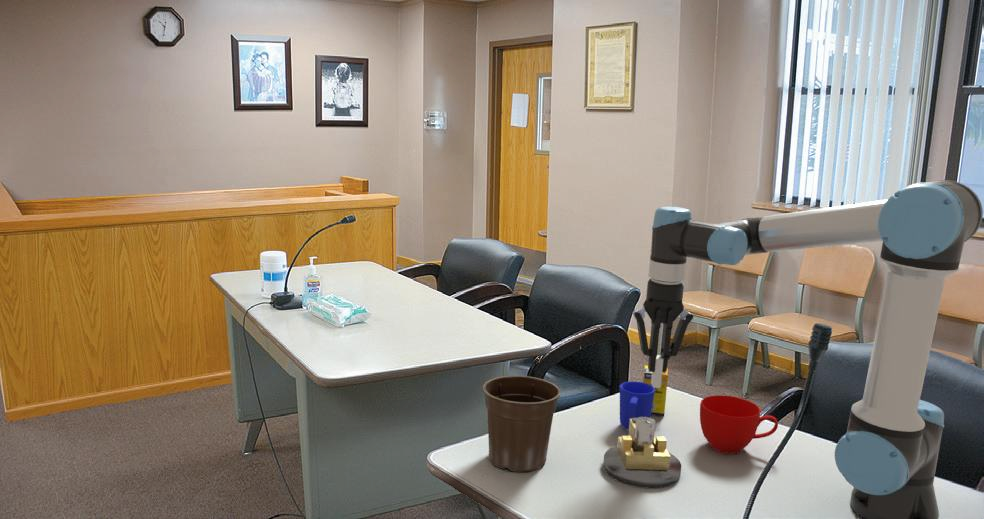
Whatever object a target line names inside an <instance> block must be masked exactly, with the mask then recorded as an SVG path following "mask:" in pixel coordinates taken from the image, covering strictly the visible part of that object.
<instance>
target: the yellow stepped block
mask: <svg viewBox="0 0 984 519" xmlns="http://www.w3.org/2000/svg"><path fill="white" fill-rule="evenodd" d="M636 419H637V418H632V419H630V421H629V430H628V434H627V435H621V436H617V445H616V446H617V451H618V453H619V455H620V457H621V460H622V462H623V464H624V467H625V469H650V470H669V466H670V455H669V453H670V452H669V451H668V450H667V439H666V437H665V436H659V435H658V436H657V435H656V436H654V445H652V444H642V452H633V450H634V438H635V426H636ZM668 452H669V453H668Z"/></svg>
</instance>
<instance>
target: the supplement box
mask: <svg viewBox="0 0 984 519" xmlns="http://www.w3.org/2000/svg"><path fill="white" fill-rule="evenodd" d="M642 375H643V377H642V383H646V384H649V385H651V386H652V384H651V377H652V372H650V371H649V369H648V364H647V365H643V374H642ZM668 379H669V369H668V367H667V371H666V372H662V379H661V388H655V394H654V400H653V405H652V411H651V416H658V417H665V412H666V411H665V410H666V402H667V401H666V400H667V389H668V388H667V387H668Z"/></svg>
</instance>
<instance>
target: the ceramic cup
mask: <svg viewBox="0 0 984 519" xmlns="http://www.w3.org/2000/svg"><path fill="white" fill-rule="evenodd" d="M765 420H771V421H773V423H774V426H773V427H772V428H771V430H769V431H766V432H763V433H762V432H761V433H756V432H757V429H758V427H759V426H760V424H761V423H762V422H764V421H765ZM699 422H700V428H701V431H702V434H703V437H704V438H705V440H706V441H707V442H708V444H709V445H710V448H712V449H713V450H715V451H717V452H720V453H722V454H731V455H732V454H738V453H740V452H741V451H742V450H744V449H745V448H746V447H748V445H750V443H751V442H752V440H754V439H762V438H766V437H769V436H771V435H773V434H774V433H775V432H776V431H777V429H778V428H779V422H778V420H777V418H776V417H774V416H773V415H762V416H761V408H760V407H759V406H758V405H757V404H756V403H754V402H752V401H749V400H747V399H744V398H741V397H737V396H731V395H722V394H721V395H719V394H718V395H709V396H706V397H704V398H702V399H701V401H700V403H699Z"/></svg>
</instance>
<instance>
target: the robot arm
mask: <svg viewBox="0 0 984 519" xmlns="http://www.w3.org/2000/svg"><path fill="white" fill-rule="evenodd" d="M983 212H984V210H983V205H982V201H981V200H980V198H979V196H978V195H977V193H976V192H974V190H973V189H972V188H971V187H969V186H967V185H966V184H963V183H961V182H958V181H953V180H947V179H946V180H945V179H943V180H936V181H930V182H929V181H928V182H927V181H926V182H924V181H922V182H921V181H920V182H915V183H913V184H909V185H906V186H904V187H903V188H901V189H899V190H898V191H896V192H894V193H893V194H892V195H890V196H889V197H888V199H887V198H886V199H880V200H874V201H865V202H859V203H853V204H852V203H850V204H844V205H837V206H831V207H830V206H829V207H824V208H823V207H822V208H816V209H809V210H801V211H794V212H789V213H788V212H787V213H779V214H774V215H765V216H758V217H747V218H742V219H738V220H733V221H725V222H719V223H710V222H704V221H703V222H701V221H697V220H692V211H691V210H690V209H688V208H684V207H681V206H680V207H679V206H660V207H657V209H655V212H654V217H653V223H652V228H651V230H652V233H651V234H652V235H651V248H650V256H649V257H650V258H649V265H648V280H647V286H646V296H645V297H646V298H645V301H644V302H643V304H642V307H640V308H638V309H633V310H632V311H631V312H632V315H633V317H634V318H635V320H636V327H637V332H638V333H637V334H638V339H639V345H640V346H639V347H640V351H641V352H642V354H643V355H644V356H647V357H648V362H647V363H648V364H647V366H648V369H649V371H650V372H652V377H651V384H652V386H653V387H654V388H661V379H662V372H666V371H667V368H668V364H669V363H668V362H669V360H670V358H671V357H677V356H678V353H679V350H680V347H681V345H682V342H683V340H684V337H685V334H686V331H687V328H688V325H689V324H690V323H691V322H692V321H693V319H694V315H693V314H692V313H691V312H690V311H688V310H686V309H685V306H684V303H683V297H684V289H685V288H684V287H685V284H684V281H685V280H686V278H685V277H686V268H687V258H692V259H696V260H700V261H705V262H711V263H714V264H717V265H721V266H722V265H727V266H737V265H738V264H741V261H742V260H743V259H744V258H745V256H749V255H758V254H765V253H766V254H767V253H775V252H783V251H784V252H785V251H793V250H794V251H795V250H804V249H805V250H807V249H813V248H815V249H817V248H823V247H826V248H827V247H835V246H843V245H844V246H845V245H855V244H865V243H867V244H868V243H875V242H882V246H881V249H880V250H881V251H880V255H879V259H880V260H881V262H882V263H883V265H884V266H885V267H886V270H887V272H886V276H885V282H884V287H883V291H882V292H883V293H882V298H881V303H880V307H879V312H878V313H879V314H878V318H877V324H876V328H875V332H874V333H875V334H874V338H873V345H872V350H871V354H870V359H869V366H868V369H867V370H868V371H867V376H866V380H865V386H864V390H863V397H862V399H861V400H858V401H857V402H854V403H853V404H852V405H851V409H850V412H849V419H848V423H847V424H848V425H847V429H846V432H845V434H843V435H842V436H841V437H840V439H839V440H838V442H837V443H836V445H835V449H834V461H835V464H836V465H835V466H836V467H837V469H838V471H839V473H840V474H841V475H842V477H844V480H845V481H846V482H847V483H848V484H849V485H851V486H852V487H853V488H852V491H851V494H850V500H849V505H850V507H851V509H852V510H853V511H854V512H855V513H856V515H858V516H859V517H860V516H861V517H860V518H862V519H863V518H864V519H939V517H940V512H939V511H940V510H939V507H938V506H939V505H938V501H937V496H936V493H935V492H936V491H935V487H934V482H935V476H936V470H937V463H938V459H939V453H940V447H941V441H942V435H943V429H944V428H945V424H944V423H945V413H944V411H943V410H942V409H941V408H940V407H938V406H937V405H935V404H933V403H931V402H928V401H926V400H922V399H921V395H922V391H923V385H924V381H925V377H926V371H927V367H928V364H929V363H928V362H929V358H930V353H931V349H932V343H933V338H934V333H935V328H936V325H937V324H936V323H937V319H938V315H939V314H938V313H939V311H940V305H941V301H942V297H943V291H944V286H945V282H946V279H947V278H948V277H950V276H951V275H953V274H955V273H957V272H958V271H959V268H960V262H961V258H962V254H963V249H964V245H965V242H966V243H967V241H969V240H970V239H971V238H973V237H974V235H975V234H976V233H977V232H978V231H979V228H980V226H981V225H982V221H983V219H984V218H983V214H984V213H983ZM646 314H647V316H648V317H649V318H650V323H651V326H650V337H649V342H648V337H647V332H646V331H647V330H646V324H645V320H644V319H645V317H646ZM678 317H679V320H678V324H677V326H676V329H675V331H674V334H673V337H672V330H673V326H674V323H675V321H676V320H677V319H678ZM661 326H662V332H661V333H662V334H661V344H660V345H661V346H660V354H658V348H659V341H660V340H659V339H660V330H661ZM671 337H672V338H671ZM648 343H649V344H648Z"/></svg>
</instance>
